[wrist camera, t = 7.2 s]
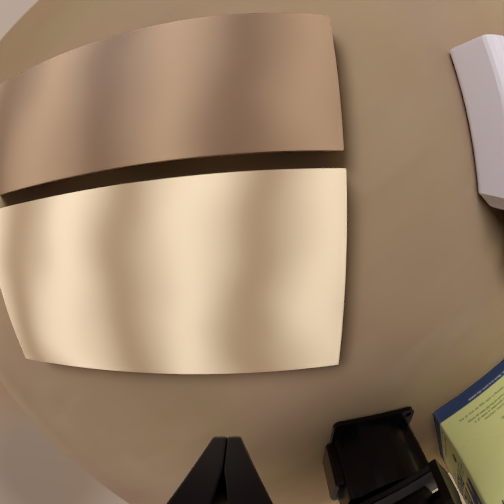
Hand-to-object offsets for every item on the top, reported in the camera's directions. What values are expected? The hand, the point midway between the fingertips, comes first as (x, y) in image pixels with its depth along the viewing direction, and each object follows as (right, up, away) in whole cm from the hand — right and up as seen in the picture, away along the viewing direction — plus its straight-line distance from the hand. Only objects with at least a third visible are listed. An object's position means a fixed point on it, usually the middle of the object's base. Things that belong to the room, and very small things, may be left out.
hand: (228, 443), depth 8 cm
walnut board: (-5, +13, +5) cm, 15 cm away
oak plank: (-5, +5, +7) cm, 10 cm away
